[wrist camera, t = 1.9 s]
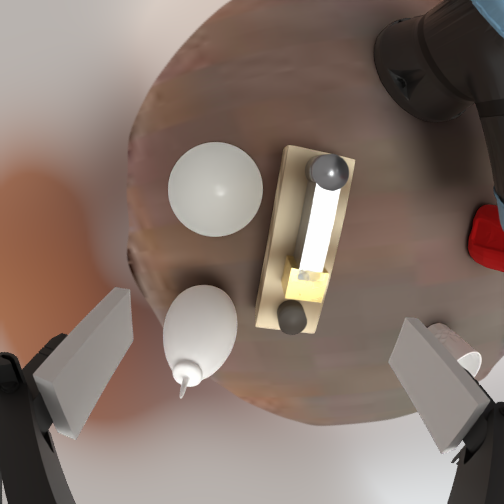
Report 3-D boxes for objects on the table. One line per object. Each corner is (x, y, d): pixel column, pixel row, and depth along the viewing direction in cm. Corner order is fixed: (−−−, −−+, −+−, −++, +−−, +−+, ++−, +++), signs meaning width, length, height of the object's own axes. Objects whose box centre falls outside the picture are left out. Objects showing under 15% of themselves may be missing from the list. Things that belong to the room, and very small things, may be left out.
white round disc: (176, 137, 32) (174, 137, 31) (269, 150, 32) (270, 149, 32) (164, 228, 35) (163, 229, 34) (254, 242, 35) (254, 243, 35)
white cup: (408, 364, 41) (434, 402, 32) (415, 325, 39) (447, 361, 29) (444, 352, 41) (473, 385, 31) (453, 314, 39) (487, 345, 29)
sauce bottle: (178, 270, 36) (124, 353, 19) (240, 272, 36) (230, 364, 19) (181, 324, 38) (143, 421, 21) (238, 327, 39) (231, 432, 21)
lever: (305, 152, 27) (314, 149, 23) (340, 159, 27) (354, 159, 23) (280, 281, 31) (285, 299, 27) (313, 286, 31) (321, 303, 27)
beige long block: (283, 148, 32) (292, 142, 25) (341, 160, 32) (364, 159, 25) (255, 307, 38) (255, 338, 30) (307, 313, 38) (318, 345, 31)
